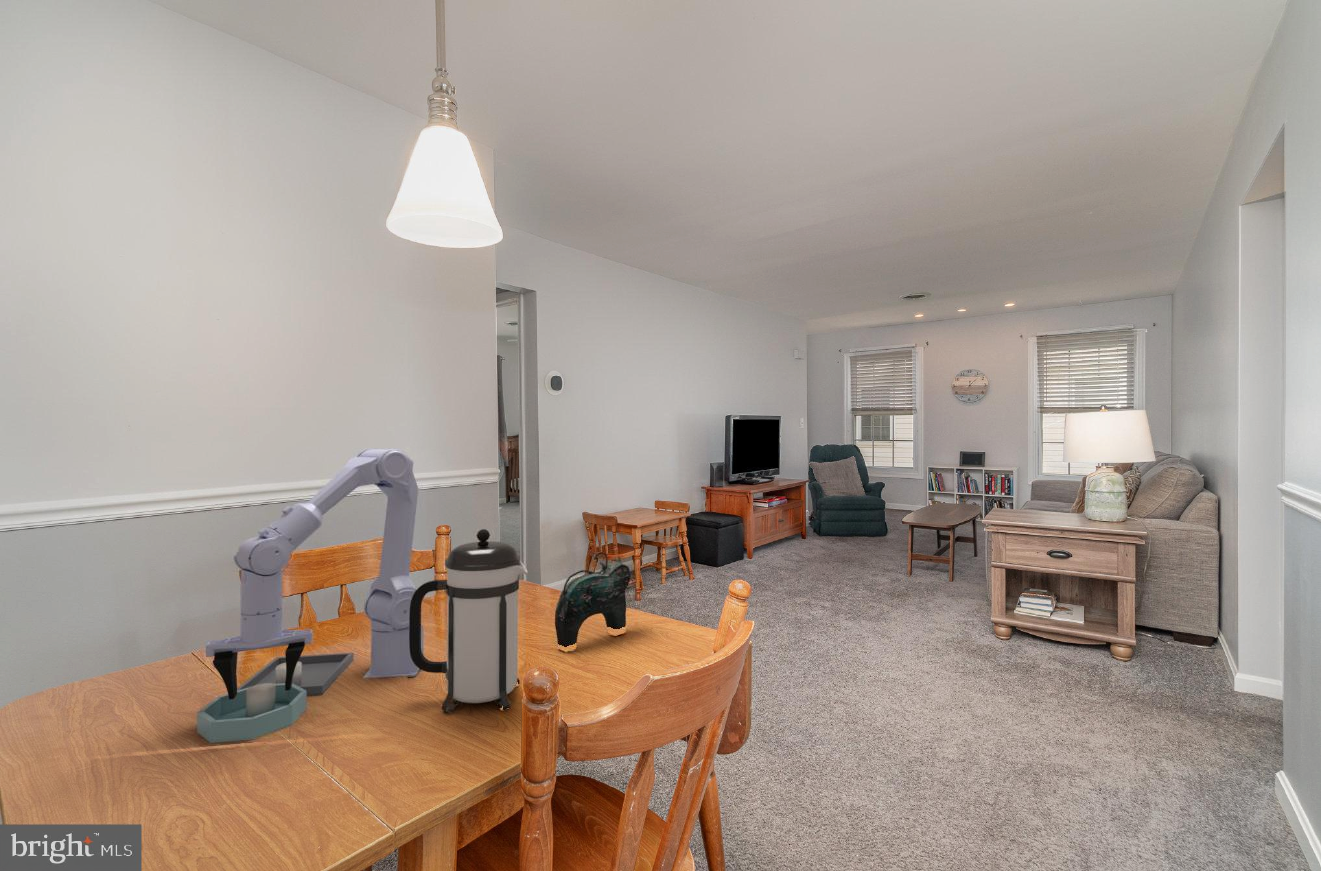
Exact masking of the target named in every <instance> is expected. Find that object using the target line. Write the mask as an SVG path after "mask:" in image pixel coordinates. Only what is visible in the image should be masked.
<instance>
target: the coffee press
mask: <svg viewBox="0 0 1321 871" xmlns="http://www.w3.org/2000/svg"><path fill="white" fill-rule="evenodd" d="M475 536H476V538H477V540H478V541H475V542H468V543H463V544H461V545H458V546H456V547H454V548H453V549H452V550H451V551H450V552H449V554H448V556H447V558H446V559H444V567H445V569H446V580H439V579H433V580H429V581H426V582H425V583H423V584H421V585H420V586H419V587H418V588H416V591H415V593H414V594H413V597H412V599H411V603H410V613H409V649H410V656H411V659H412V661H413V663H414V664H415V665H416V666H417V667H418V668H419V670H421V671H423V672H427V673H433V674H434V673H435V674H445V679H446V691H447V695H446V697H445V699H444V701H443V702H442V704H441V710H442V711H443V712H445V713H446V714H450V712H451V713H452V712H453V711H454V709H455V708H456V706H458V704H460V703H466V704H481V703H488V702H492V701H494V702H495V703H496V705H497V707H498V709H499V708H502V706H503V710H505V711H507V710H508V709H507V708H509V709H511V702H510V700H509V699H510V698H509V696H508V694H510V693H511V692H512V691H513V690H514V689H515V686H516V684H517V682H518V684H519V685H520V684H521V681H520V679H519V677H518V652H519V651H518V650H519V649H518V646H519V645H518V644H519V642H518V637H519V635H518V634H519V632H518V631H519V630H518V628H519V627H518V626H519V625H518V624H519V623H518V622H519V621H518V620H519V616H518V615H519V611H518V610H519V609H518V608H519V605H518V604H519V600H518V598H519V589H520V577H519V575H528V574H529V573H528V570H527V567H526V566H525V565H524V563H523V562H522V561H521V555H519V554H518V551H517V549H516V548H515V547H514V546H513V545H511V544H509V543H506V542H502V541H492V540H491V541H488V540H489V539H490V536H491V534H490V531H488V530H487V529H485V528H483V529H482V528H481V529H480V530H478V531H477V534H476V535H475ZM438 591H445V594H446V661H434V660H433V661H432V660H429V659H428V658H426V656H425V654H424V655H423V654H422V651H421V625H422V604H423V600H424V598H425V596H426V595H427V594H429V593H431V592H438ZM452 699H453V701H452V702H451V700H452ZM450 702H451V703H450ZM449 704H450V705H449ZM506 709H507V710H506Z"/></svg>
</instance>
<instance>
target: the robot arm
mask: <svg viewBox="0 0 1321 871" xmlns="http://www.w3.org/2000/svg"><path fill="white" fill-rule="evenodd" d="M413 469H414V461H413V460H412V459H411V458H410V456H408V455H407V454H406V453H405V452H404V451H402V450H400V449H398V448H389V449H383V448H382V449H377V448H372V447H371V448H364V449H363V450H361V451H360V452H358V454H357V455H356V456H353V457H352V458H350V459H349V460H348V462H347V463H346V464H345V466H344V467H343V468H342V469H341V470H340V471H339V472H337V474H336V475H335V476H333V477H332V479H330V480H329V481H328V482H327V483H326V484H325V485H324V486H323V487H321V489H320V490H319V491H318V492H316V493H315V495H313V497H312V498H310V499H309V500H308V501H307V502H305V503H301V502H299V503H295V504H292V505H291V506H290V505H287V506H285V507H284V508H283V509H282V510H281V512H282V514H281V515H280V516H279V517H278V518H276V519H275V520H274V521H273V522H272V523H270V525H268V526H267V527H266V528H264V527H262V528H261V529H259V531H258V536H254V537H251V538H248V539H246V540H244V541H243V543H241V544H240V546H239V547H238V551H236V554H235V555H233V560H234V561H233V562H234V563H235V565H236V566H237V568H239V569H240V579H241V580H240V633H239V636H234V637H229V638H225V639H219V640H212V641H208V642H207V644H206V645H205V658H210V657H213V661H212V665H213V667H214V668H215V670H216V671H217V672H218V674H219V675H220V677H221V679H222V680H223V683H224V685H225V687H226V692H227V694H228V696H229V700H230V699H234V698H235V696H236V695H237V688H238V678H237V669H238V667H237V666H238V656H239V655H238V654H239V653H241V652H246V651H247V652H248V651H255V650H264V649H270V648H279V647H285V646H286V649H285V652H284V653H285V654H284V657H286V680H285V691H287V690H290V689H291V686H292V679H293V674H294V671H295V667H296V665H297V662H298V660H299V658H300V656H302V654H303V652H304V649H305V646H306V645H312V643H313V640H314V634H313V633H314V629H312V628H310V629H298V630H295V629H294V630H291V629H289V630H283V569H284V568H286V567H287V565H288V564H289V561H290V558H291V554H292V553H293V552H294V551H295V550H296V549H297V548H299V547H300V546H301V545H302V544H303V543H304V542H305V541H306V540H307V539H308V538H310V537H311V536H312V535H313V534H314V533H315V532H316V531H317V530H318V529H319V528H320V527H321V526H322V524H323V522H322V521H323V516H324V515H325V514H326V513H327V512H329V511H330V510H331V509H332V508H334V507H335V506H336V505H337V504H338V503H340V502H341V501H342V500H344V498H346V497H348V496H349V495H350V494H351V493H352V492H353V491H354V490H356V489H358V487H362V486H368V485H375V486H376V487H378V489H379V490H380V491H382V493H383V494H384V495H386V496H387V503H386V510H385V519H384V528H383V536H382V537H383V539H382V545H381V546H382V548H381V556H380V564H379V565H380V566H379V571H378V572H379V573H378V577H377V578H376V579H374V580H373V582H372V583H371V584H370V585H371V586H370V589H369V590H370V591H369V594H368V596H367V597H366V599H365V601H364V604H363V612H364V614H365V616H366V617H367V618H368V619H370V621H369V625H370V668H369V669H368V671H367V672H366V673H365V675H363V679H374V678H375V679H376V678H388V677H391V678H392V677H402V676H406V677H408V678H410V677H416V676H417V675H418V673H419V671H420V669H419V668H418V667H417V666H416V665H415V664H414V663H413V661H412V659H411V656H410V649H409V613H410V603H411V599H412V597H413V594H414V593H415V591H416V590H417V588H416V586H415V584H414V583H413V581H412V579H411V578H410V568H411V560H412V559H411V557H412V553H413V552H412V550H413V541H414V534H415V533H414V532H415V531H414V530H415V523H416V522H415V521H416V514H417V506H418V505H417V504H418V496H419V486H418V484H417V481H416V477H415V475H414V471H413ZM424 635H425V633H424V627H423V624H421V651H422V654H423V655H424V656H425V654H424V652H425V651H424V650H425V648H424V645H425V644H424V640H425V639H424V638H425V637H424Z"/></svg>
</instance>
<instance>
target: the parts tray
mask: <svg viewBox="0 0 1321 871" xmlns="http://www.w3.org/2000/svg"><path fill="white" fill-rule="evenodd" d="M354 654H355V653H354V652H340V653H338V652H337V653H324V654H307V655H301V656H300V658H299V660H298V661H299V662H301V663H302V685H301V686H298V687H300V688H302V689H304V690H306V691H307V696H320V695H323V694H324V693H326V691H327V690H328V689H329V688H330V687H331V686H332V685H333V684H334V682H335V681H336V680H337V679H338V678H339V677H340V676H341V675H342V673H343V672H345V671H346V669H347V668H348V667H349V666H350V665H351V663H352V662H354V657H355V656H354ZM282 663H286V656H276V657H274V658H273V659H272V660H271V661H270V662H268V663H267V664H266V665H264V666H263V667H262V668H260V669H259V670H258V671H257V672H255V674H253V675H252V676H251V677H249V678H248V679H247V680H246V681H244V682H243V683H241V684H240V685H239V686H237V691H238V690H242V689H245V688H248V687H252V686H255V685H259V684H264V683H272V684H276V666H278V665H280V664H282Z"/></svg>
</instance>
